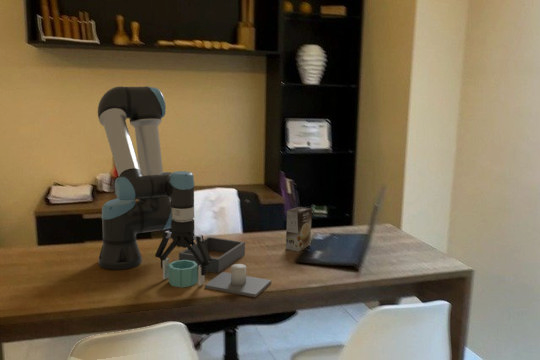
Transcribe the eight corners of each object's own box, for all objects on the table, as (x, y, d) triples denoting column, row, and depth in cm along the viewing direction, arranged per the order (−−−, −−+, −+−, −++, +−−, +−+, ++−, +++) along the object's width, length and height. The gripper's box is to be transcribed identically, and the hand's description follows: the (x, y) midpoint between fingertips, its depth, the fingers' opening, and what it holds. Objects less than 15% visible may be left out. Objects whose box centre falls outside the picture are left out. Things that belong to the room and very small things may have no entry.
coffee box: (298, 252, 210) (299, 212, 207) (285, 248, 214) (286, 210, 211) (310, 246, 217) (312, 208, 214) (297, 243, 221) (298, 206, 218)
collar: (164, 284, 175) (163, 266, 174) (178, 275, 183) (178, 258, 182) (188, 288, 172) (187, 271, 170) (201, 279, 180) (201, 262, 179)
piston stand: (204, 287, 173) (204, 268, 172) (223, 274, 185) (223, 256, 183) (255, 297, 166) (256, 277, 165) (271, 283, 178) (271, 264, 177)
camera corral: (179, 266, 192) (178, 253, 191) (208, 248, 212) (208, 236, 211) (218, 273, 186) (218, 259, 185) (244, 254, 206) (244, 242, 205)
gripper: (143, 217, 174) (145, 279, 178) (211, 226, 165) (211, 290, 169) (156, 212, 181) (158, 271, 185) (222, 220, 172) (222, 282, 176)
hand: (183, 281), depth 177 cm, fingers open, 13 cm apart
